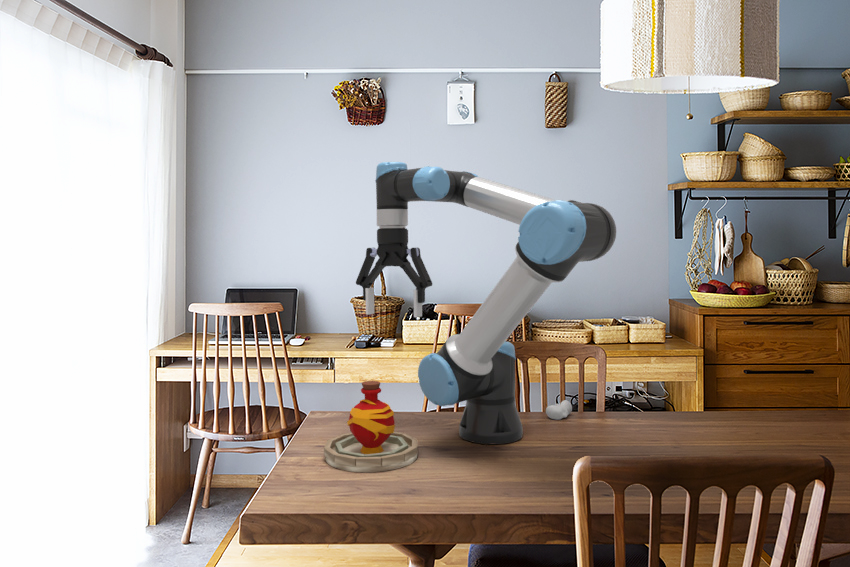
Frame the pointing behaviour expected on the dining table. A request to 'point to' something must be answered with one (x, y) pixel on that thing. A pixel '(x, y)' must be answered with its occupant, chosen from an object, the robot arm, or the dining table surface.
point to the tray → (349, 458)
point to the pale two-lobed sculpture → (559, 410)
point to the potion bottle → (371, 419)
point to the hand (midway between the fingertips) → (393, 315)
